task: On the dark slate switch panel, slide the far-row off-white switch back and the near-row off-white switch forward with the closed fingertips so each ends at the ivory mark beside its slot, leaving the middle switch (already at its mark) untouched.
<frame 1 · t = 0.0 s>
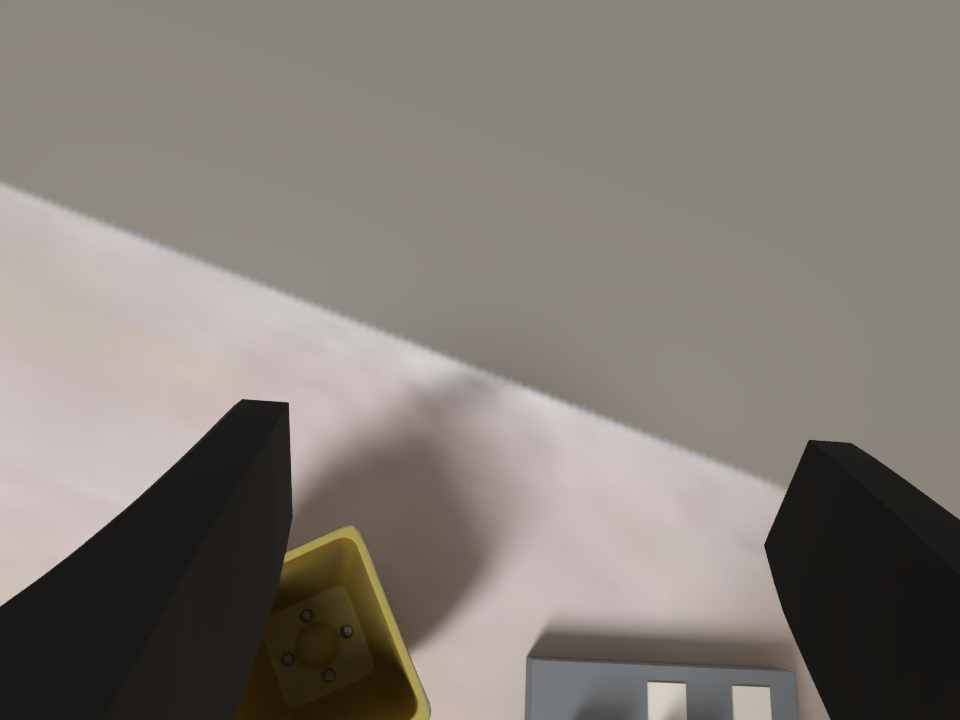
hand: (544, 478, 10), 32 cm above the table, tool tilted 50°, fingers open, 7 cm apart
flower pot: (320, 646, 39), on the table
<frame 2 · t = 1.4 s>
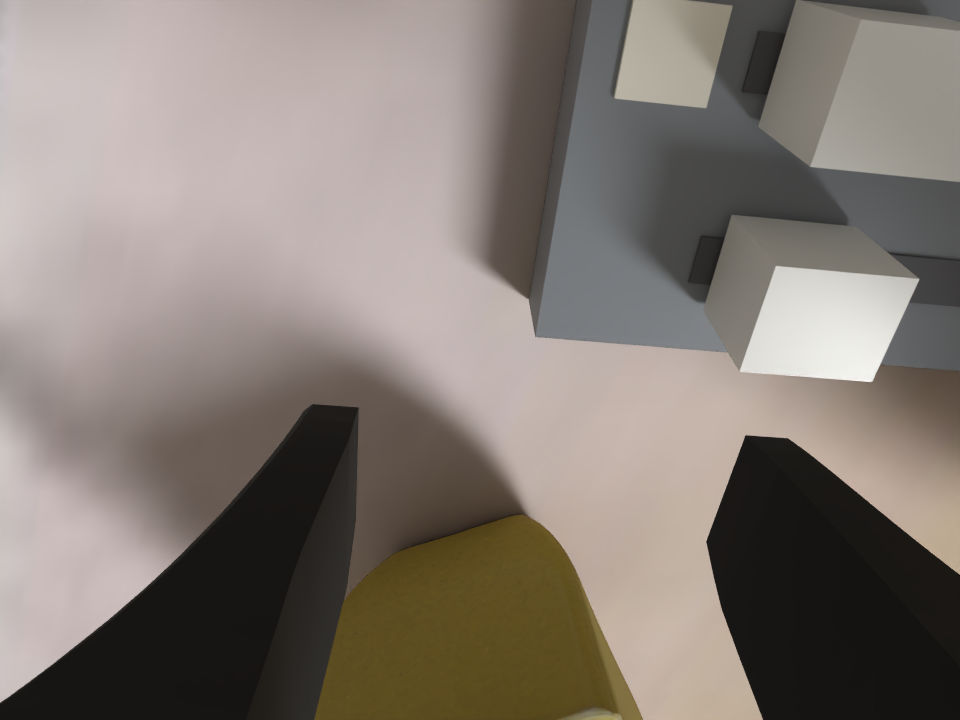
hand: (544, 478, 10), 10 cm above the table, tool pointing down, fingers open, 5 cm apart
panel: (905, 66, 18), on the table
switch A: (800, 296, 17), point 4 cm above the table, slide at 2.5 cm
switch B: (877, 88, 14), point 4 cm above the table, slide at 2.5 cm
flower pot: (484, 570, 27), on the table
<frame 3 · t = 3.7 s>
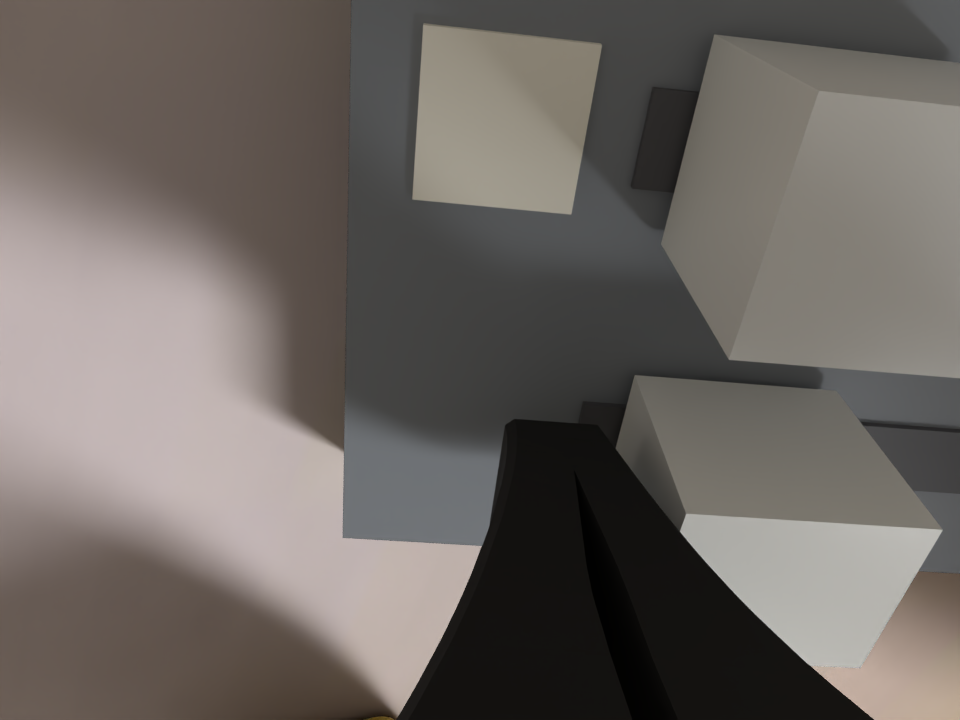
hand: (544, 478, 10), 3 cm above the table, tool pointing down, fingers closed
panel: (908, 131, 11), on the table
switch A: (742, 515, 10), point 4 cm above the table, slide at 2.4 cm, touching gripper
switch B: (859, 199, 8), point 4 cm above the table, slide at 2.5 cm
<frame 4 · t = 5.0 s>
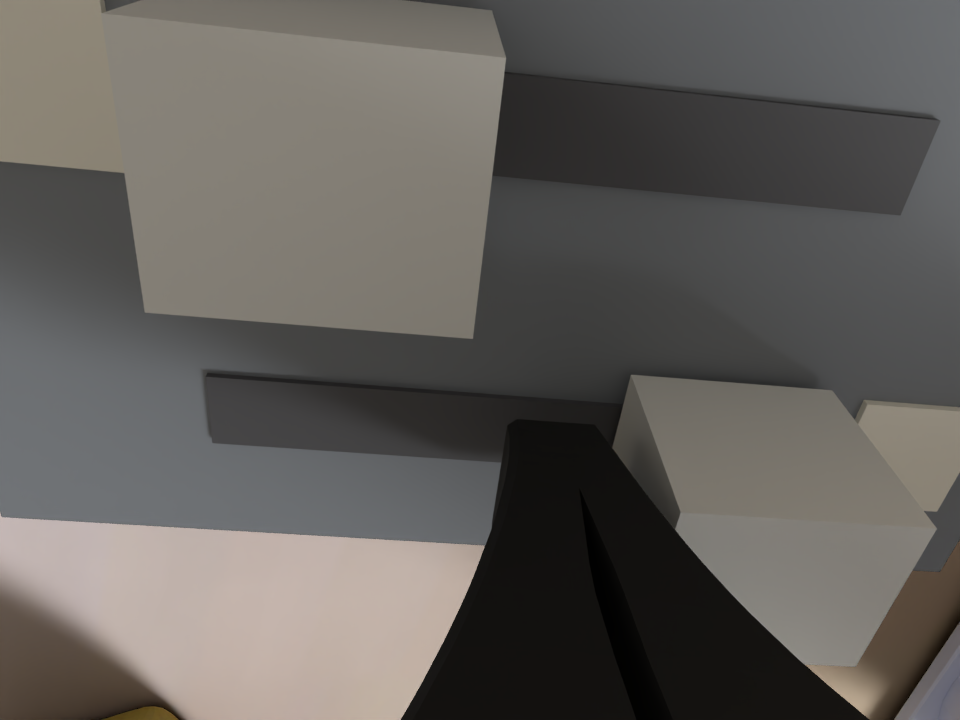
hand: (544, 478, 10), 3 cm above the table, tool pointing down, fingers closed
panel: (545, 93, 11), on the table
switch A: (738, 514, 10), point 4 cm above the table, slide at -3.0 cm, touching gripper
switch B: (333, 148, 7), point 4 cm above the table, slide at 2.5 cm
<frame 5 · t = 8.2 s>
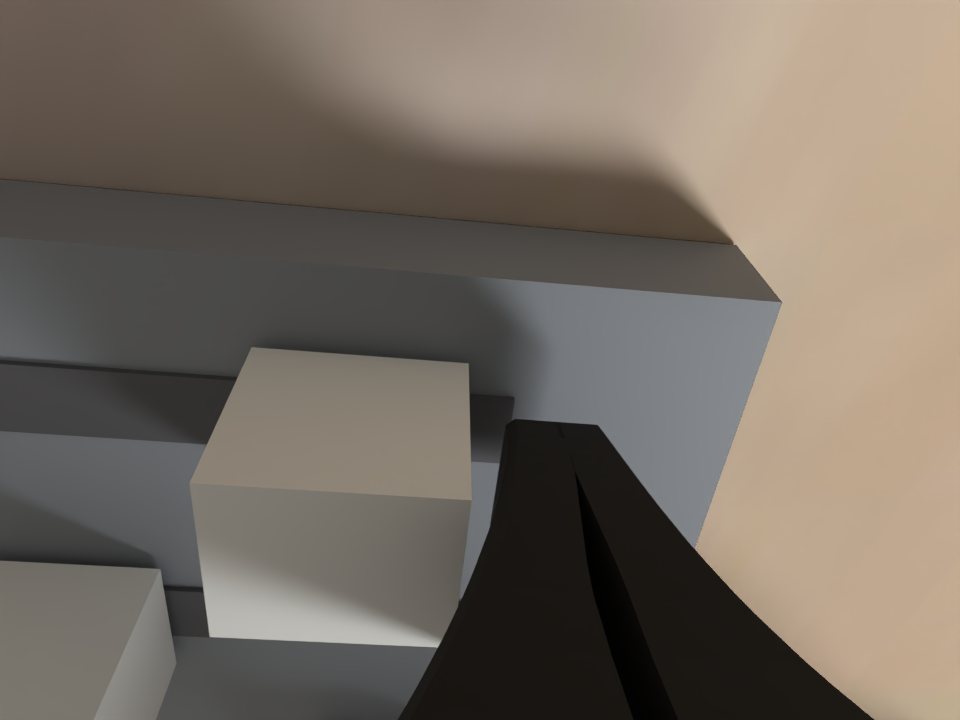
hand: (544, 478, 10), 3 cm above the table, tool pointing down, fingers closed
panel: (255, 531, 15), on the table
switch C: (347, 491, 10), point 4 cm above the table, slide at -2.2 cm, touching gripper
switch B: (42, 686, 12), point 4 cm above the table, slide at 2.5 cm
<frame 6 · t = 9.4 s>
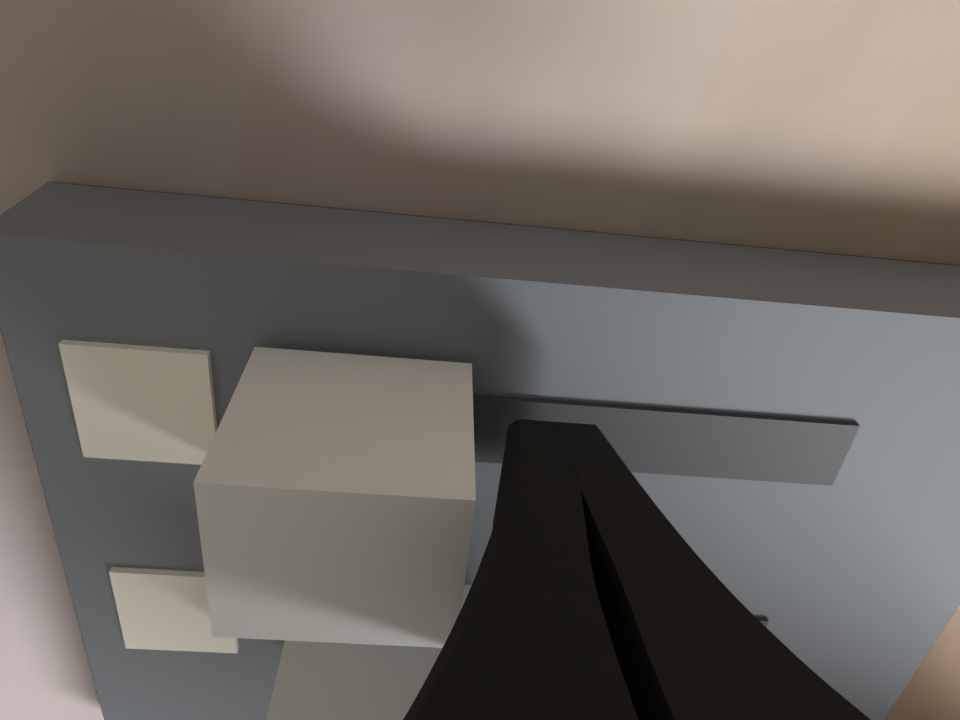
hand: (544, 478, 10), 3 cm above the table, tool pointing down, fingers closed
panel: (515, 546, 15), on the table
switch C: (350, 491, 10), point 4 cm above the table, slide at 3.0 cm, touching gripper
switch B: (378, 699, 12), point 4 cm above the table, slide at 2.5 cm
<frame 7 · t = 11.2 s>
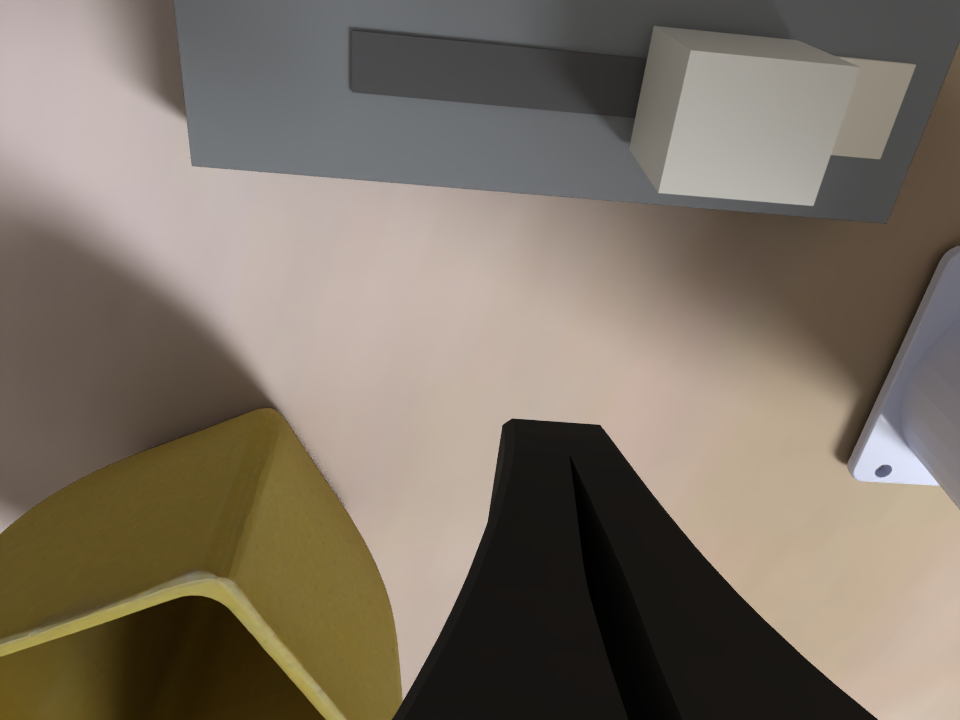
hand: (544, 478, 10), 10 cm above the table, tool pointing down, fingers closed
switch A: (731, 113, 15), point 4 cm above the table, slide at -3.0 cm
flower pot: (249, 479, 24), on the table
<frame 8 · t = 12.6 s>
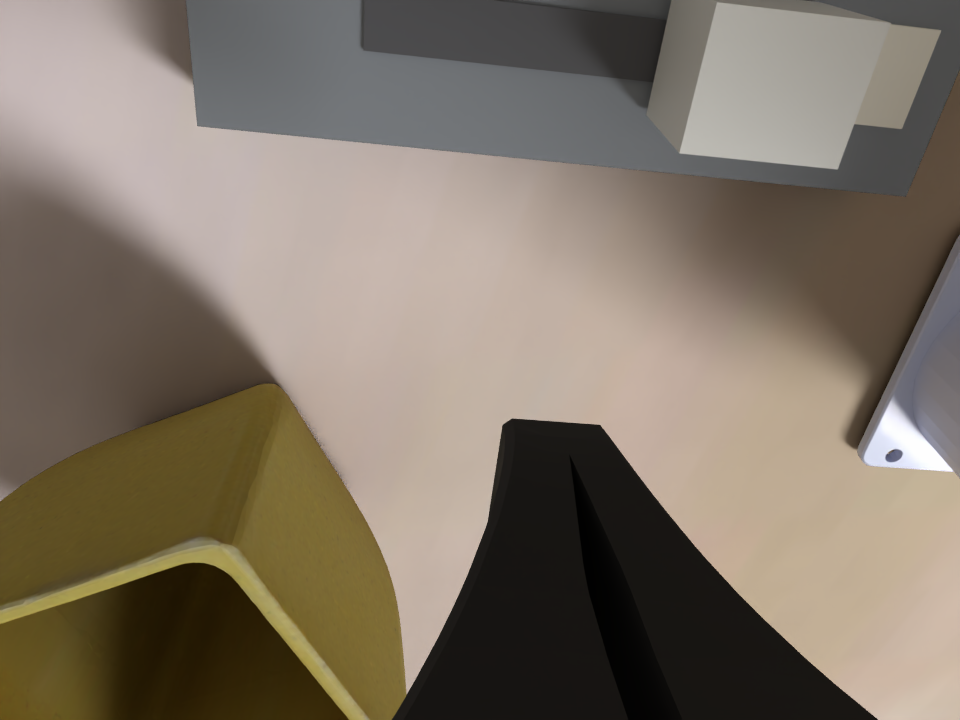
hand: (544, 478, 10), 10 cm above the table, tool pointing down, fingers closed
switch A: (753, 74, 14), point 4 cm above the table, slide at -3.0 cm
flower pot: (250, 457, 24), on the table
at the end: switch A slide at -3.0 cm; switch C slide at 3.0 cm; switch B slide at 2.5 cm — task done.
